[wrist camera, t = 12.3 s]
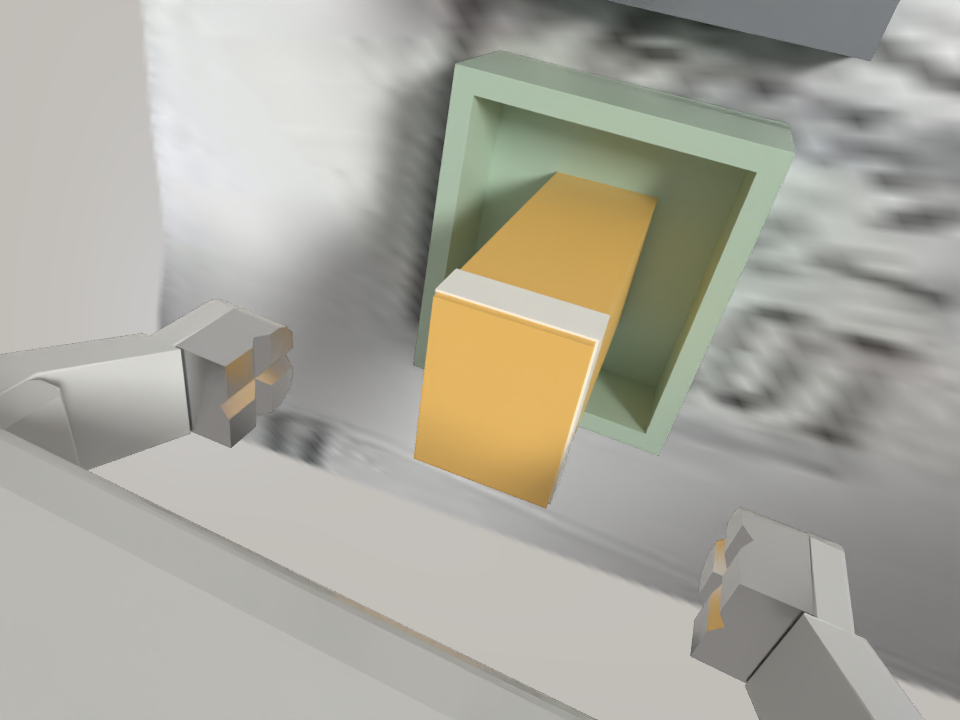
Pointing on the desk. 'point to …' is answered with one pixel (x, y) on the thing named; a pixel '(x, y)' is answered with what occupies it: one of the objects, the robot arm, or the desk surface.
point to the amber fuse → (528, 336)
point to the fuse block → (791, 20)
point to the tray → (624, 164)
